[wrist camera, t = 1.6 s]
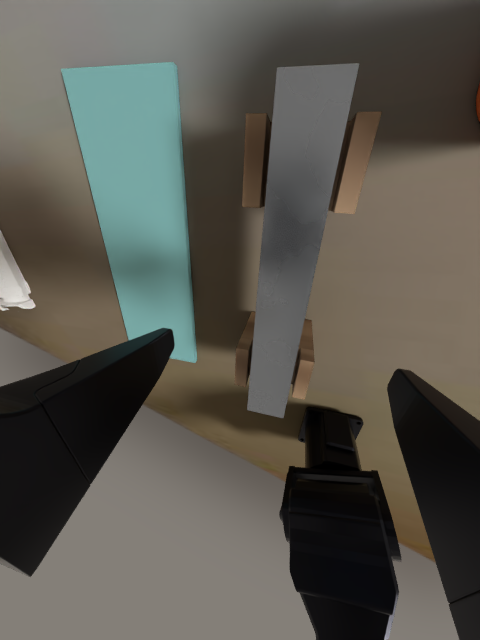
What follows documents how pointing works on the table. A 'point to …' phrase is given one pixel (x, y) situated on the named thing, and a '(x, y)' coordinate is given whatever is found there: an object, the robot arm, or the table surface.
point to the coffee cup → (478, 103)
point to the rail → (295, 218)
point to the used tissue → (12, 281)
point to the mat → (139, 191)
